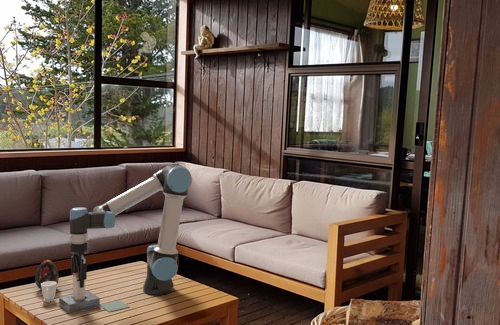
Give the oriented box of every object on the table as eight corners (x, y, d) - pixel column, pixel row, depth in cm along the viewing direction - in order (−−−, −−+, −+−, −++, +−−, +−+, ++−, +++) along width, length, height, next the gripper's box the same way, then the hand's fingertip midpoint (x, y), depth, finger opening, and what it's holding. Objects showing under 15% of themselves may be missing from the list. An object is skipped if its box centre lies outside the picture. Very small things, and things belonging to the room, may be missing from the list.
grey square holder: (88, 299, 244) (88, 290, 243) (99, 306, 235) (99, 298, 234) (59, 305, 235) (59, 296, 234) (69, 313, 226) (69, 304, 225)
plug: (81, 301, 237) (81, 271, 236) (84, 304, 234) (84, 273, 233) (72, 303, 234) (72, 273, 233) (76, 305, 231) (76, 275, 230)
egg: (48, 284, 262) (48, 255, 260) (63, 288, 257) (63, 259, 255) (30, 290, 252) (30, 260, 251) (45, 294, 247) (45, 264, 246)
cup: (57, 297, 245) (57, 280, 244) (55, 304, 235) (55, 287, 235) (42, 298, 243) (42, 281, 243) (38, 305, 234) (38, 288, 233)
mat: (119, 300, 243) (119, 300, 243) (129, 307, 235) (129, 306, 235) (99, 305, 236) (99, 304, 236) (109, 312, 229) (109, 311, 229)
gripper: (63, 239, 236) (63, 289, 238) (78, 247, 223) (78, 299, 225) (79, 237, 241) (79, 286, 243) (94, 244, 228) (94, 296, 230)
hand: (78, 292), depth 234 cm, fingers closed on plug, 4 cm apart
